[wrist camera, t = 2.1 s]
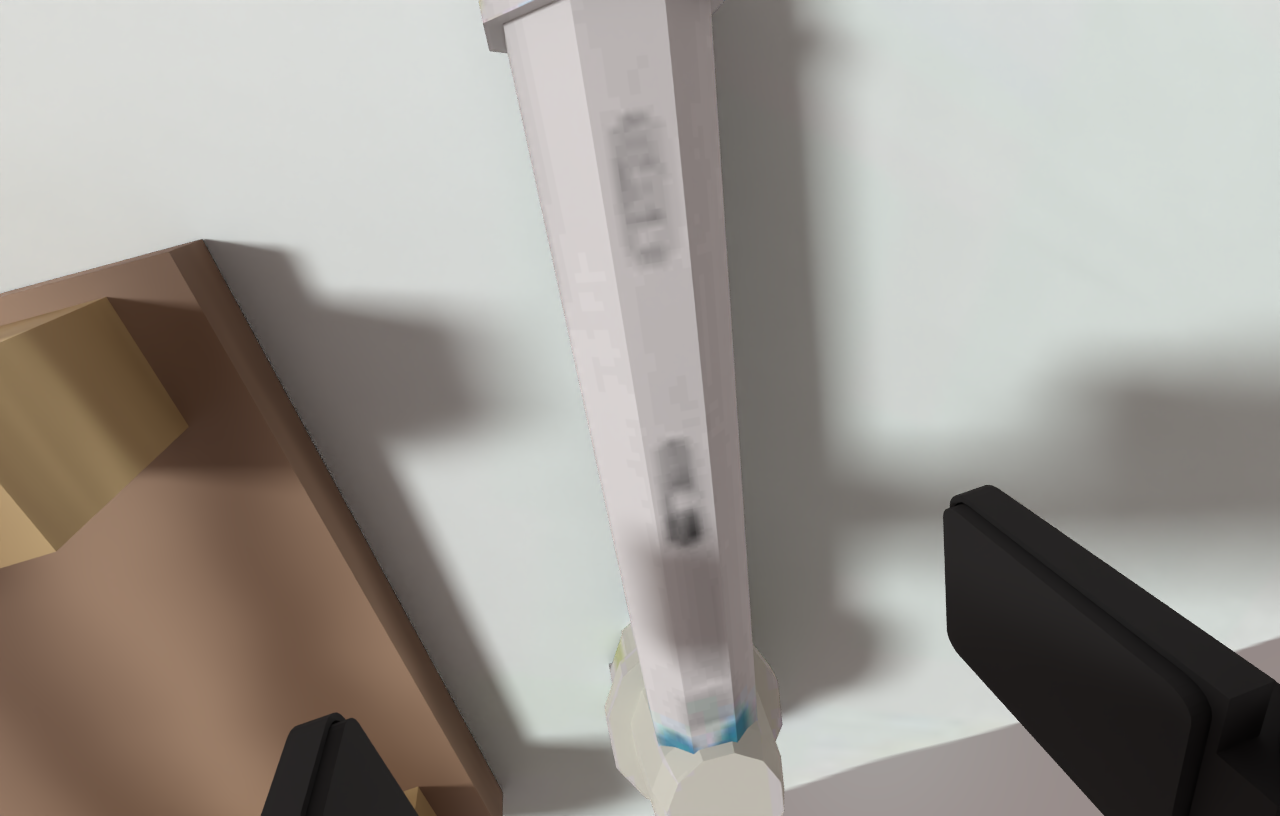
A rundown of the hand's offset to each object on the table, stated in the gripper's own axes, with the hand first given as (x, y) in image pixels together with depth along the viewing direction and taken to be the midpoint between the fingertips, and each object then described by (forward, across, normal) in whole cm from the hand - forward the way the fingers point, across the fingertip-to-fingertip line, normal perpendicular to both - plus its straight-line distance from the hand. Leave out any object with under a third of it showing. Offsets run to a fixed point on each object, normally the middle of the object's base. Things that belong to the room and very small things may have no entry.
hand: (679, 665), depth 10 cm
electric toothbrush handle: (+9, -1, 0) cm, 9 cm away
